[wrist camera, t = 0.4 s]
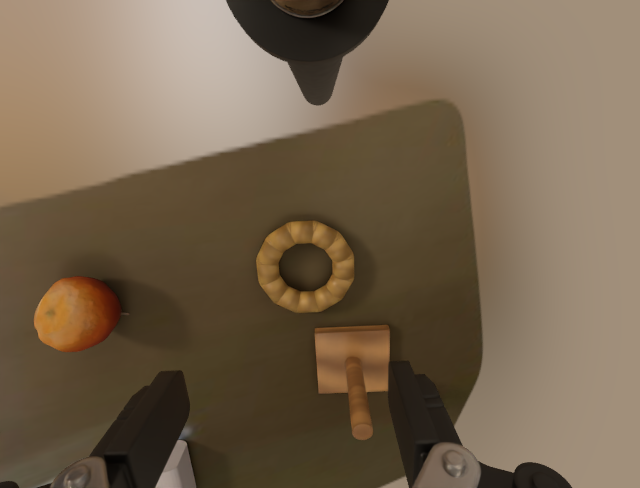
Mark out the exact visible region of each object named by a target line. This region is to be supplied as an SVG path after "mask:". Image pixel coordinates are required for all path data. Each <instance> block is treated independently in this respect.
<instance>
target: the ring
mask: <svg viewBox="0 0 640 488" xmlns="http://www.w3.org/2000/svg"><path fill="white" fill-rule="evenodd" d="M301 243H312V244H314V245H316V246H318V247H321V248H323V249H325V251H326V252H327V254H328V255H329V257H330V258H331V259H332V266H333V274H332V275H331V277H330V279H329V281H328V282H327V284H326V285H324V286H322V287H321V288H319V289H317V290H316V291H304V292H300V291H298V290H296V289H294V288H291V287H289V286H287V284H286V283H285V282H284V280H283V279H282V278H281V276H280V274H279V264H278V262H279V260H280V258H281V256H282V255H283V253H284V251H285V250H287V249H289V248H290V247H292V246H293V245H295V244H301ZM256 264H257V272H258V280H259V284H260V286H261V287H262V288H263V290H264V291H265V292H266V293H267V295H268V296H269V297H270V298H271V300H272V301H273V302H274V303H275V304H277V305H280V306H282V307H284V308H286V309H289V310H291V311H293V312H296V313H305V312H321V311H323V310H325V309H326V308H328V307H330V306H332V305H333V304H335V303H337V302H339V301H340V300H342V298H343V297H344V295H345V294H346V292H347V290H348V289H349V287H350V285H351V284H352V282H353V280H354V254H353V252H352V250H351V249H350V247H349V246H348V244H347V243H346V241H345V240H344V238H343V237H342V235H341V234H340V233H339V232H338V231H336V230H334V229H332V228H330V227H328V226H326V225H324V224H322V223H320V222H318V221H295V222H288V223H286V224H285V225H283V226H282V227H280V228H279V229H277V230H276V231H274V232H272V233H271V234H269V235H268V236H267V237H266V239H265V241H264V243H263V245H262V247H261V249H260V252H259V254H258V256H257V259H256Z"/></svg>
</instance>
